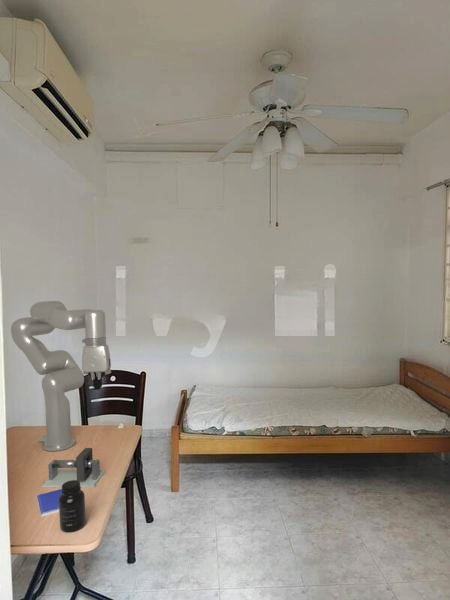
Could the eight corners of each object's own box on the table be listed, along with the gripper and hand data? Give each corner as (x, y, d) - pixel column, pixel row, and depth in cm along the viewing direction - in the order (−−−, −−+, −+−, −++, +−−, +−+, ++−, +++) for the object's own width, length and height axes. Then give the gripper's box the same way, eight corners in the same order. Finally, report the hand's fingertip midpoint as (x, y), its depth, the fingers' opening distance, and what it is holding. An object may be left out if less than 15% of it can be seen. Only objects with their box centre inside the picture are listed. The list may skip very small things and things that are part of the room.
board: (42, 487, 136) (42, 484, 136) (57, 472, 147) (57, 469, 146) (93, 487, 135) (93, 484, 135) (105, 472, 146) (105, 469, 146)
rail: (49, 480, 139) (48, 463, 139) (54, 474, 143) (53, 458, 143) (95, 479, 138) (95, 462, 138) (100, 474, 142) (99, 457, 142)
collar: (76, 480, 136) (76, 457, 136) (86, 469, 144) (85, 447, 144) (84, 480, 136) (83, 457, 136) (93, 469, 144) (92, 447, 144)
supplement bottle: (64, 519, 116) (62, 478, 116) (88, 518, 117) (87, 477, 116) (56, 534, 109) (54, 490, 109) (82, 532, 110) (80, 489, 110)
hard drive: (70, 505, 122) (64, 487, 133) (41, 513, 118) (37, 495, 129) (71, 510, 122) (64, 492, 133) (41, 518, 118) (37, 499, 129)
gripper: (72, 343, 153) (74, 391, 154) (111, 343, 153) (113, 391, 153) (80, 341, 161) (82, 386, 162) (118, 340, 160) (119, 386, 161)
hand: (97, 388), depth 157 cm, fingers closed
